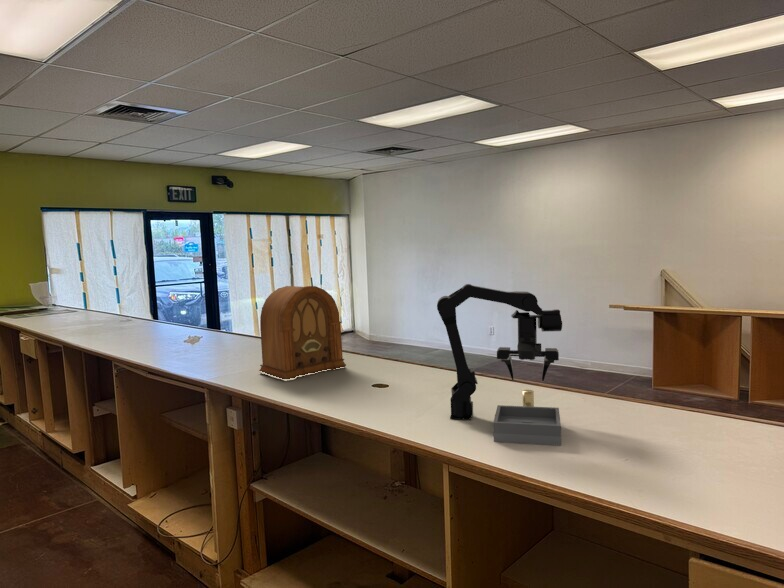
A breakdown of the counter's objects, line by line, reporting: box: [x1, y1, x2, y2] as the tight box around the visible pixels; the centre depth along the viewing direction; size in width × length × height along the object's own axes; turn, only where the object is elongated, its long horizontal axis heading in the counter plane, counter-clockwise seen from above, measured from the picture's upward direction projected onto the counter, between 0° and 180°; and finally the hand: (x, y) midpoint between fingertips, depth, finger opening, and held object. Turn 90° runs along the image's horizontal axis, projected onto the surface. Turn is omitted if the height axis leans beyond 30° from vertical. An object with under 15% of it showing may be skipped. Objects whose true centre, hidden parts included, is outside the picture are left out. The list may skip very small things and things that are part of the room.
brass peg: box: [522, 389, 535, 407], centre depth 165 cm, size 3×3×8 cm
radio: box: [258, 285, 347, 379], centre depth 240 cm, size 33×23×40 cm
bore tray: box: [492, 404, 562, 446], centre depth 150 cm, size 18×16×6 cm
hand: (527, 380), depth 164 cm, fingers open, 9 cm apart
